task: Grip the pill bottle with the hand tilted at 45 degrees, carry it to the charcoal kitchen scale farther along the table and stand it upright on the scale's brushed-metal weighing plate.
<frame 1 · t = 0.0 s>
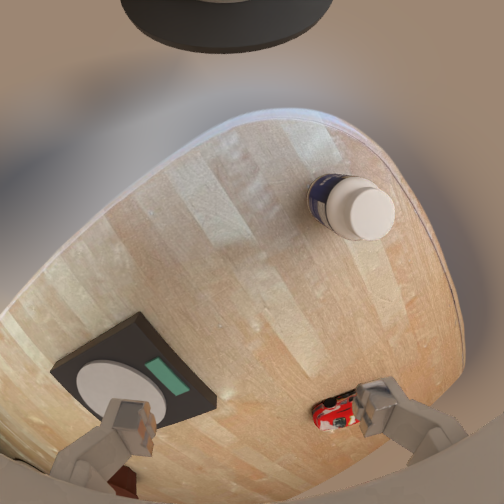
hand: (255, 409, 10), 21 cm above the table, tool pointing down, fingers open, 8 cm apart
muffin: (117, 469, 42), on the table
race car: (350, 399, 38), on the table
pill bottle: (329, 198, 29), on the table
scale: (129, 382, 34), on the table
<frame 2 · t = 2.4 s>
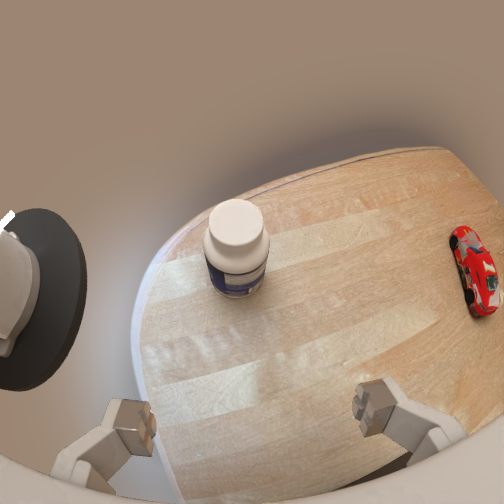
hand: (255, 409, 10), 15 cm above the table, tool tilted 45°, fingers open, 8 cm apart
race car: (468, 273, 30), on the table
pill bottle: (236, 275, 29), on the table
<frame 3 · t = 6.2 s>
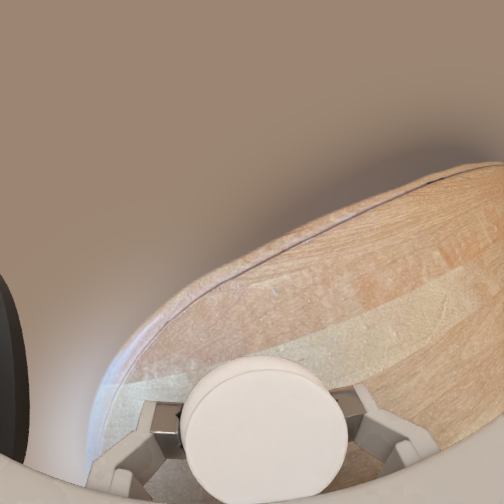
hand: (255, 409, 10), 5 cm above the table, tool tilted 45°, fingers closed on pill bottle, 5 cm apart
pill bottle: (251, 413, 14), on the table, touching gripper
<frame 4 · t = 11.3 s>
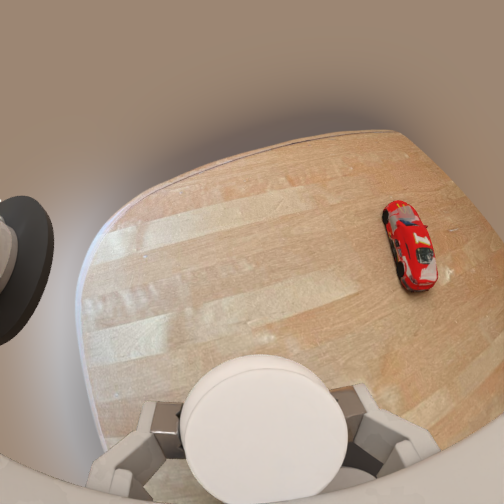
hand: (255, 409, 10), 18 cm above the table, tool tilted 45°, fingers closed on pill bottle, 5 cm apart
race car: (404, 248, 34), on the table
pill bottle: (251, 412, 14), point 12 cm above the table, touching gripper
when the fingers open (9 cm above the table, at t = 16.2 s): pill bottle stays where it is, resting on scale.
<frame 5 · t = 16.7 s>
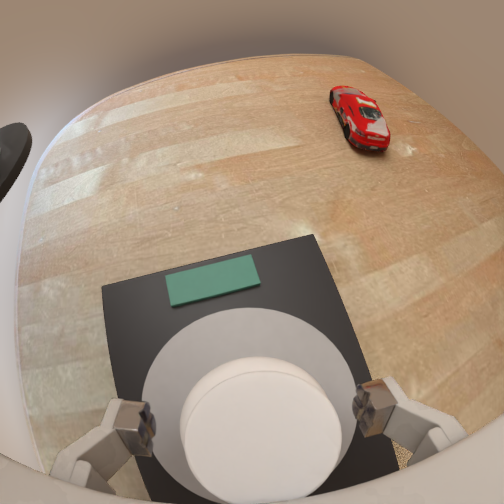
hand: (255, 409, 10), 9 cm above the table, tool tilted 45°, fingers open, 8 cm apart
race car: (355, 123, 32), on the table
pill bottle: (250, 413, 14), point 3 cm above the table, touching scale
scale: (245, 396, 17), on the table
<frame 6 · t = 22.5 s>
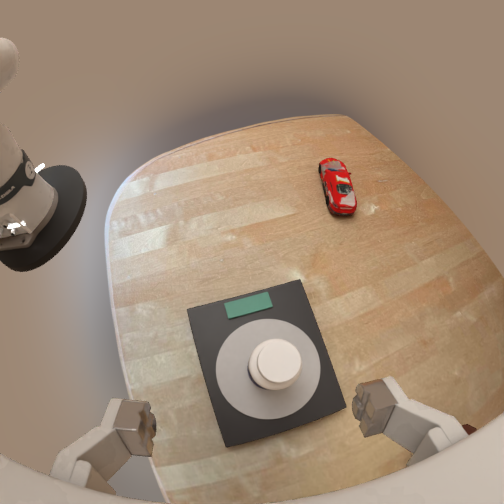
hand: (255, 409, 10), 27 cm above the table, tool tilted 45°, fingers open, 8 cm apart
race car: (335, 190, 51), on the table
pill bottle: (268, 369, 33), point 3 cm above the table, touching scale
scale: (264, 363, 36), on the table
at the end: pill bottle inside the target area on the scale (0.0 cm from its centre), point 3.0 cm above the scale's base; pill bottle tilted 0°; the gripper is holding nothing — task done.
